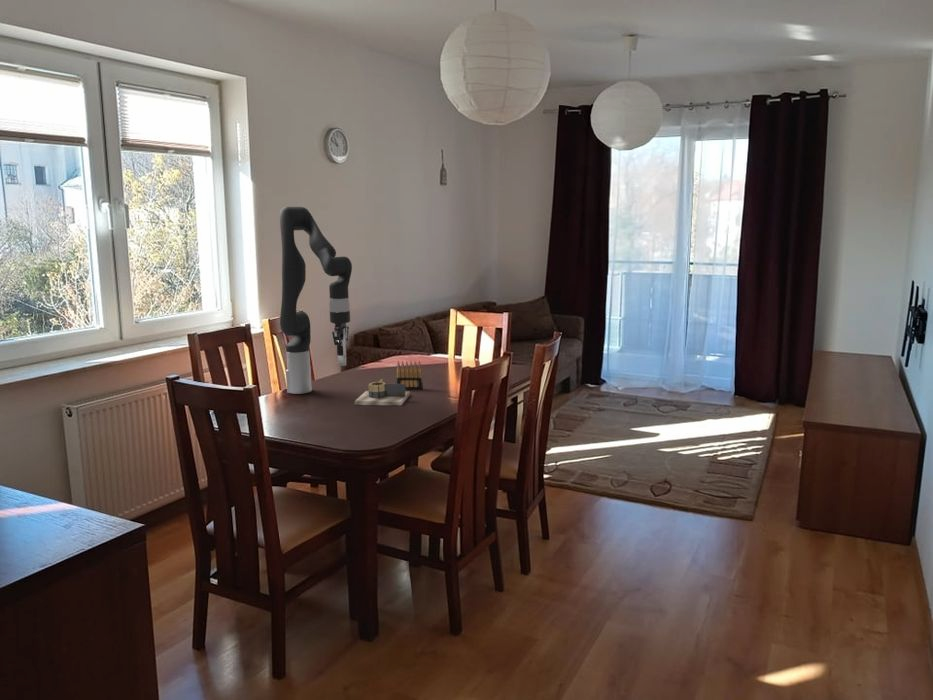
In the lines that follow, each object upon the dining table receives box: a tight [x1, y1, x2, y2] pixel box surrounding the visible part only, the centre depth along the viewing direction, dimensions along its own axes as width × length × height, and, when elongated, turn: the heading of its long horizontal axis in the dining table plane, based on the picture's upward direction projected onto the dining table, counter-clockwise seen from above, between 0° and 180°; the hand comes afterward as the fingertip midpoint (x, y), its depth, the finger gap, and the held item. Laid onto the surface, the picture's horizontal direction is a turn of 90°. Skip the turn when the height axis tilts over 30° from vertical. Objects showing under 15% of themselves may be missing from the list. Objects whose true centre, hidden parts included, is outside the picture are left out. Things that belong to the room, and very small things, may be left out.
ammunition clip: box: [396, 360, 424, 391], centre depth 302 cm, size 11×2×12 cm, turn 84°
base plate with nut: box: [354, 378, 411, 406], centre depth 286 cm, size 18×16×6 cm
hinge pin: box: [337, 334, 347, 367], centre depth 280 cm, size 3×3×12 cm
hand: (341, 354), depth 280 cm, fingers closed on hinge pin, 3 cm apart
